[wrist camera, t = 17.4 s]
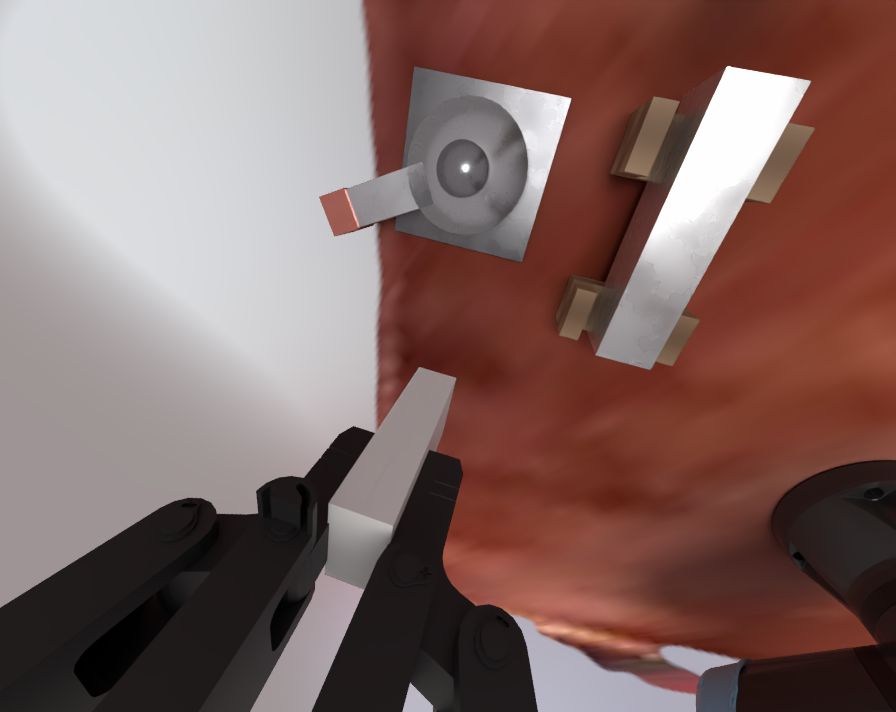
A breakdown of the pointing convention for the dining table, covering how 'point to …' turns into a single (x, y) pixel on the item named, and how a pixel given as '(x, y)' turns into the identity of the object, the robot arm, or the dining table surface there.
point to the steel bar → (689, 207)
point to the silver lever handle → (445, 173)
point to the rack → (638, 164)
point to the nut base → (541, 133)
